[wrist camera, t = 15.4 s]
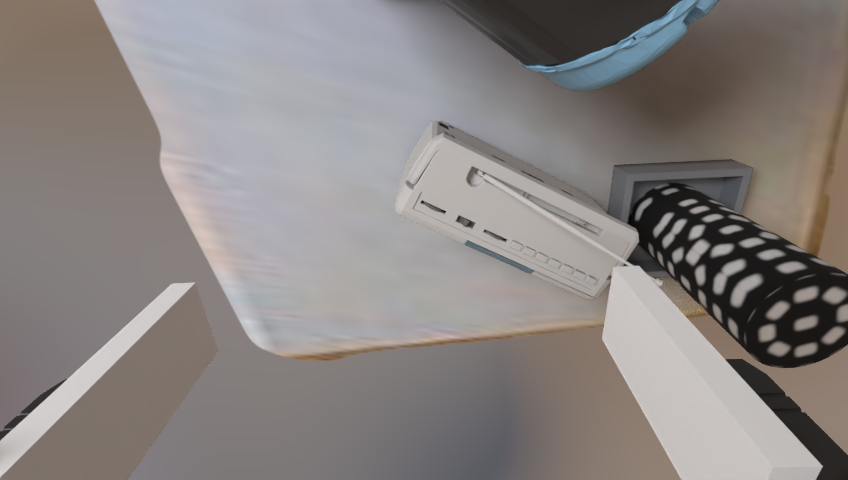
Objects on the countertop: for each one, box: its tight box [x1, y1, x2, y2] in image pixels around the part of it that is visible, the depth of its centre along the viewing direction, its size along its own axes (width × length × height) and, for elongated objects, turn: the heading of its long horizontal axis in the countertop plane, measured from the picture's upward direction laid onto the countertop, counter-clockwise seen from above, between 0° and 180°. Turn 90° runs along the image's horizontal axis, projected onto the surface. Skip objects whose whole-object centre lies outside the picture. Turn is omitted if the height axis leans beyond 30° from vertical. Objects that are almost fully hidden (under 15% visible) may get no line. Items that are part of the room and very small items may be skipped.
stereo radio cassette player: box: [395, 121, 663, 300], centre depth 38 cm, size 21×8×20 cm, turn 64°
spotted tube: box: [628, 183, 848, 368], centre depth 39 cm, size 8×8×20 cm
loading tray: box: [608, 159, 753, 278], centre depth 47 cm, size 13×13×4 cm
